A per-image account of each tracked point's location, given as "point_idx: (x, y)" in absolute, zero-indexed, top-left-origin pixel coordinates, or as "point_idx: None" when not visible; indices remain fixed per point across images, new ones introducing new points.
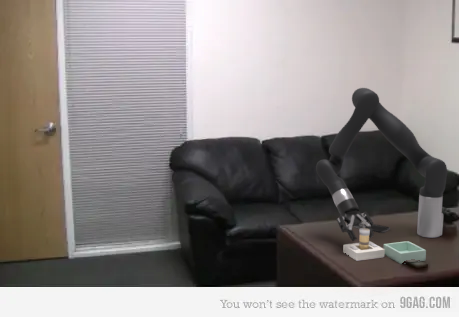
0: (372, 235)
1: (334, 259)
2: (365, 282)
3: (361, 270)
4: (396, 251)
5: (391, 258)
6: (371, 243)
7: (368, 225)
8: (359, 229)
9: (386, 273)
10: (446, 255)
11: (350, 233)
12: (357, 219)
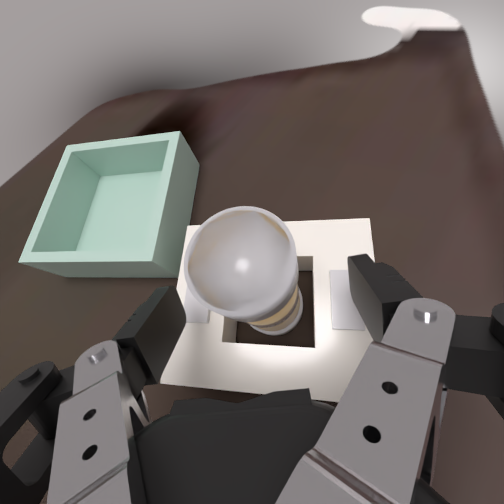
0: (172, 286)
1: (490, 298)
2: (430, 52)
3: (392, 140)
4: (174, 159)
5: (190, 215)
6: (181, 341)
7: (110, 352)
8: (287, 282)
9: (306, 104)
10: (11, 196)
11: (414, 289)
12: (184, 480)
